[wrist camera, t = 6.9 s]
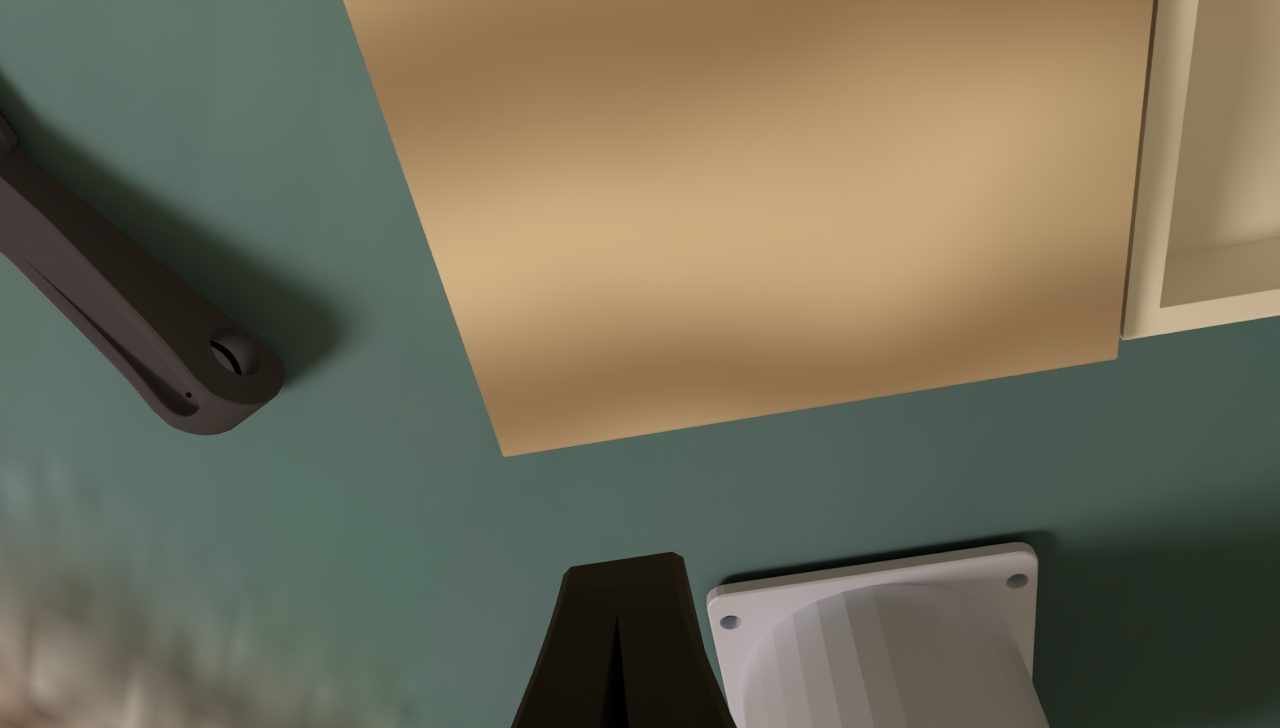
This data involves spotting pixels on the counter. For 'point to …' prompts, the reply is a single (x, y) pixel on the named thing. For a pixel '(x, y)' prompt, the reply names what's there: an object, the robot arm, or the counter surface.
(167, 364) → the bracket
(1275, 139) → the tray
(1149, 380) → the counter surface
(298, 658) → the counter surface
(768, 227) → the large beige panel
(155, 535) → the counter surface
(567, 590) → the robot arm
